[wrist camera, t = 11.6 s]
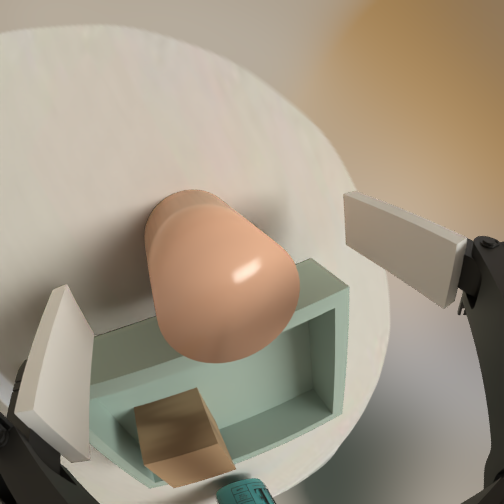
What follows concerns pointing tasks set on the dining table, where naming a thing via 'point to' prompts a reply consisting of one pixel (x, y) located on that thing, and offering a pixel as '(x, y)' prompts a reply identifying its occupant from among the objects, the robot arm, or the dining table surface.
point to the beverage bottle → (245, 493)
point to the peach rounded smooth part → (216, 279)
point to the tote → (227, 379)
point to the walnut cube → (181, 439)
